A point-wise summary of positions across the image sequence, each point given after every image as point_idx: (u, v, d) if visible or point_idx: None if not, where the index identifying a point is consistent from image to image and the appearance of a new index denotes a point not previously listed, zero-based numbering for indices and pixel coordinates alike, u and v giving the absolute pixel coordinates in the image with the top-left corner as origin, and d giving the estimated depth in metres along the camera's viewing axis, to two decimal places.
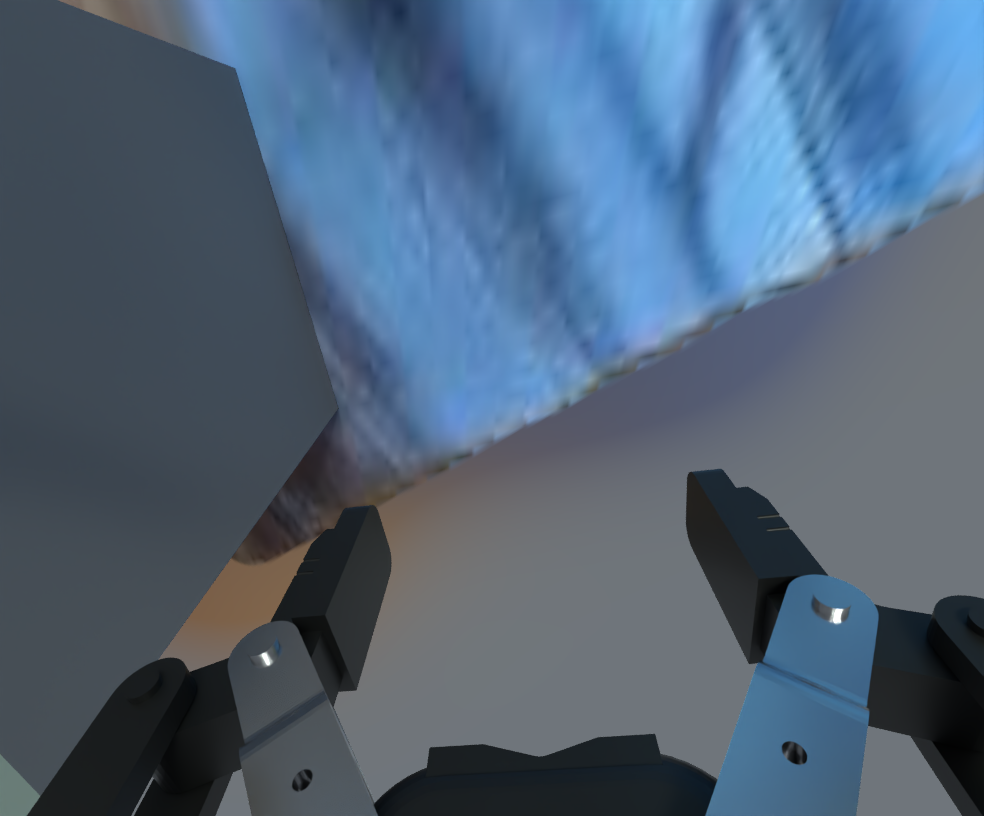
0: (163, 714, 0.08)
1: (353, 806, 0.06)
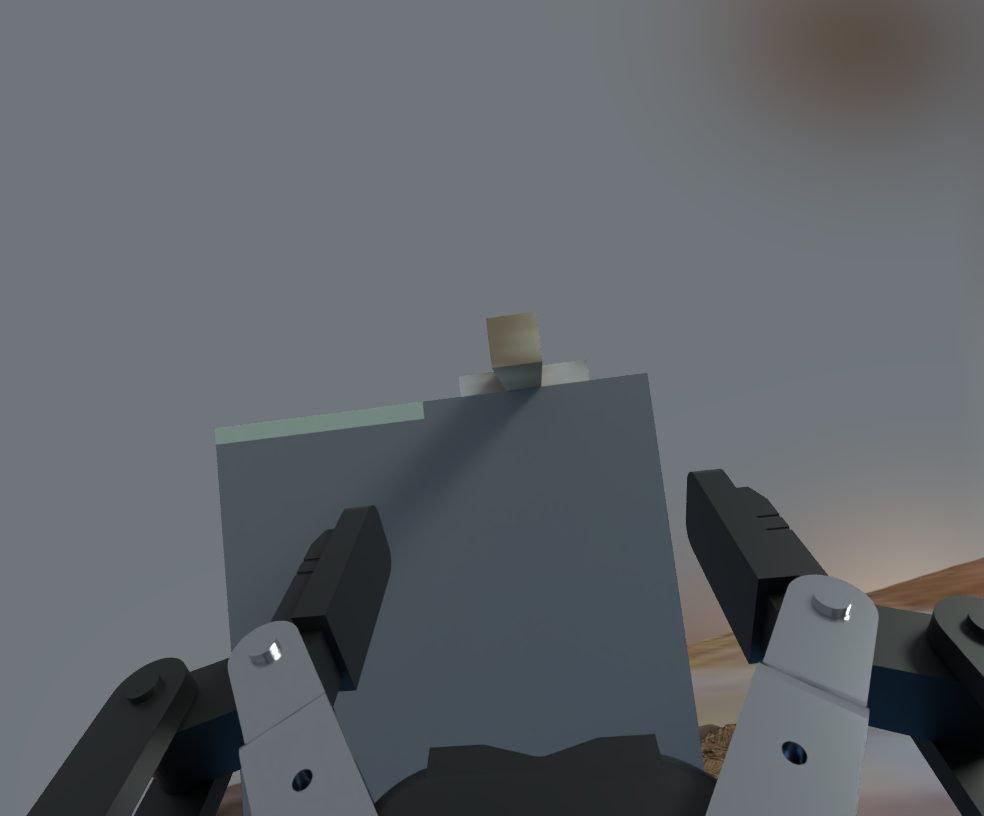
0: (163, 714, 0.08)
1: (353, 806, 0.06)
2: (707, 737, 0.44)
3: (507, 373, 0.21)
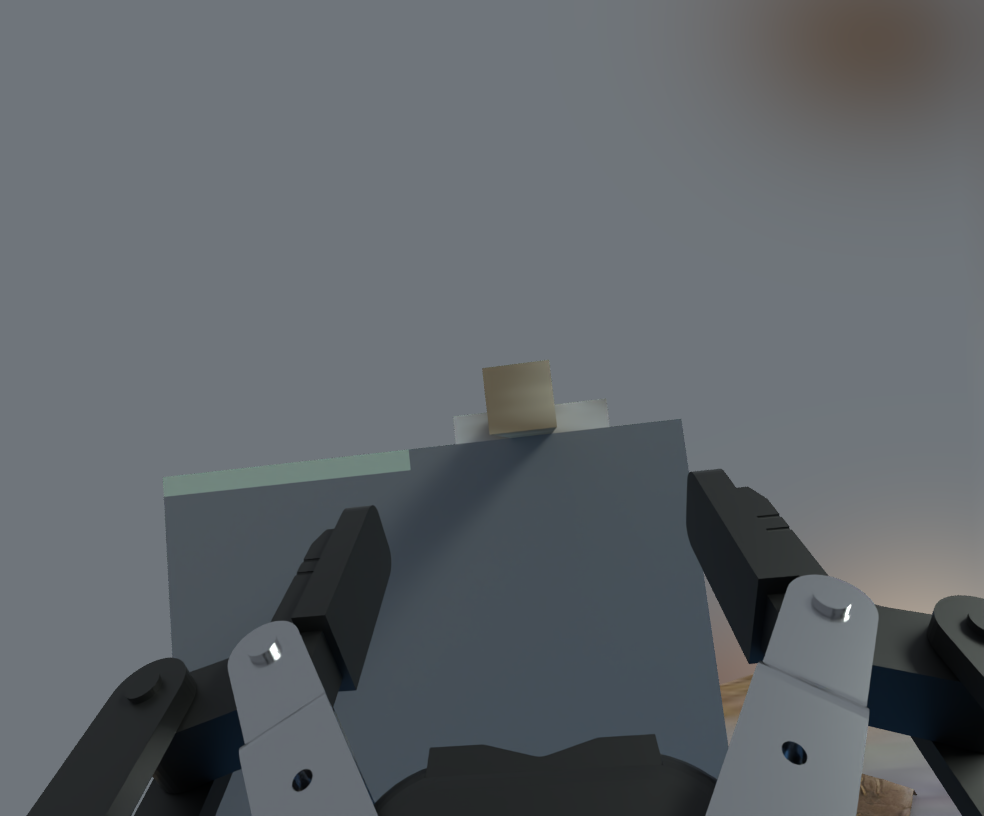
0: (163, 714, 0.08)
1: (353, 806, 0.06)
2: None
3: (510, 434, 0.16)
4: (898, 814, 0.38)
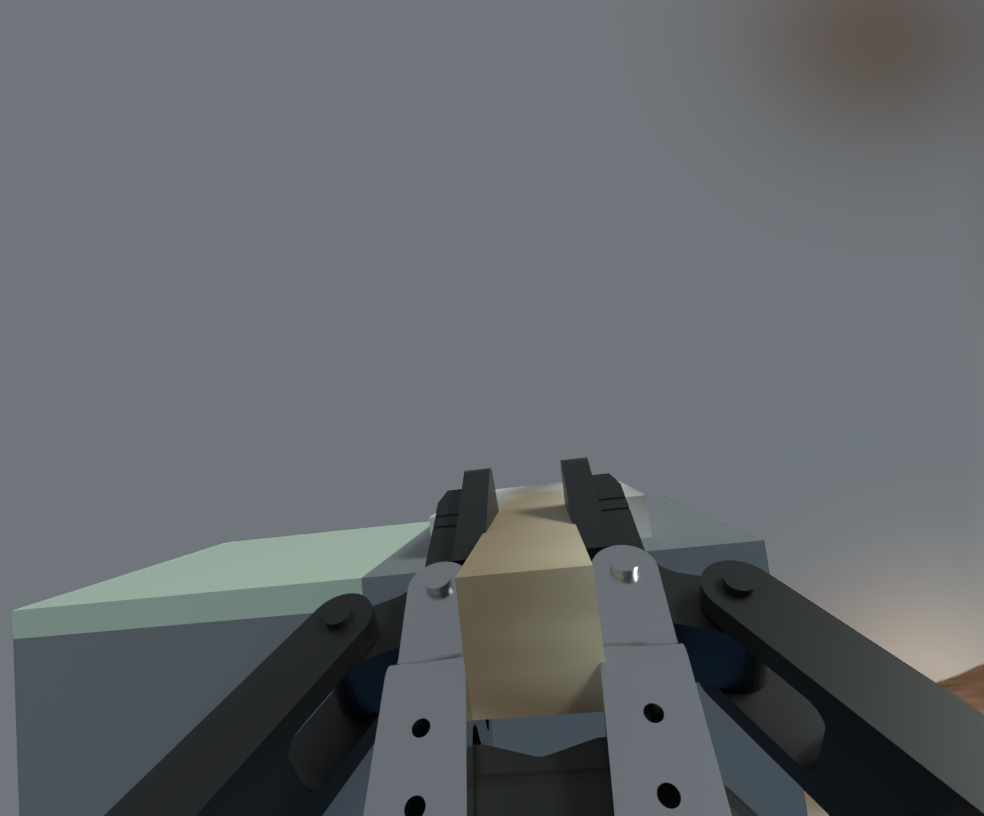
0: (362, 639, 0.09)
1: (450, 782, 0.06)
2: None
3: None
4: None
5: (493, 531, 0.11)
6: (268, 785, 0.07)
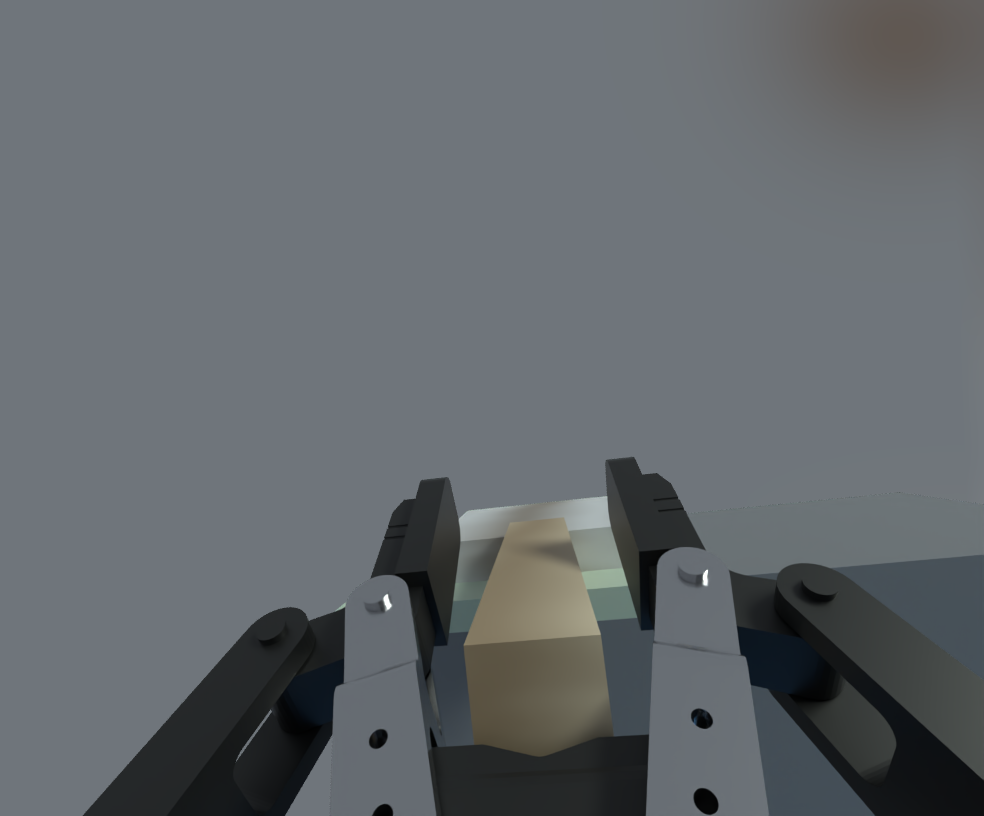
0: (294, 655, 0.08)
1: (415, 784, 0.06)
2: None
3: None
4: None
5: (498, 576, 0.11)
6: (214, 810, 0.07)
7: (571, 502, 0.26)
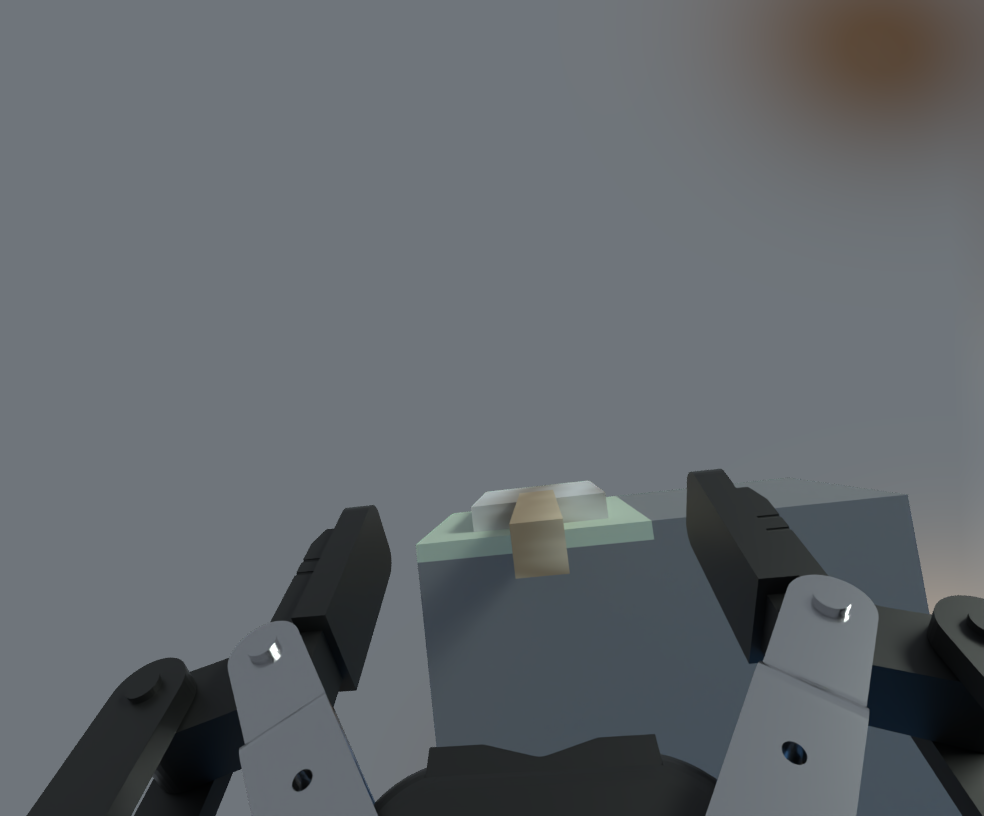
0: (163, 714, 0.08)
1: (353, 806, 0.06)
2: None
3: None
4: None
5: (518, 510, 0.22)
6: None
7: (559, 485, 0.37)
